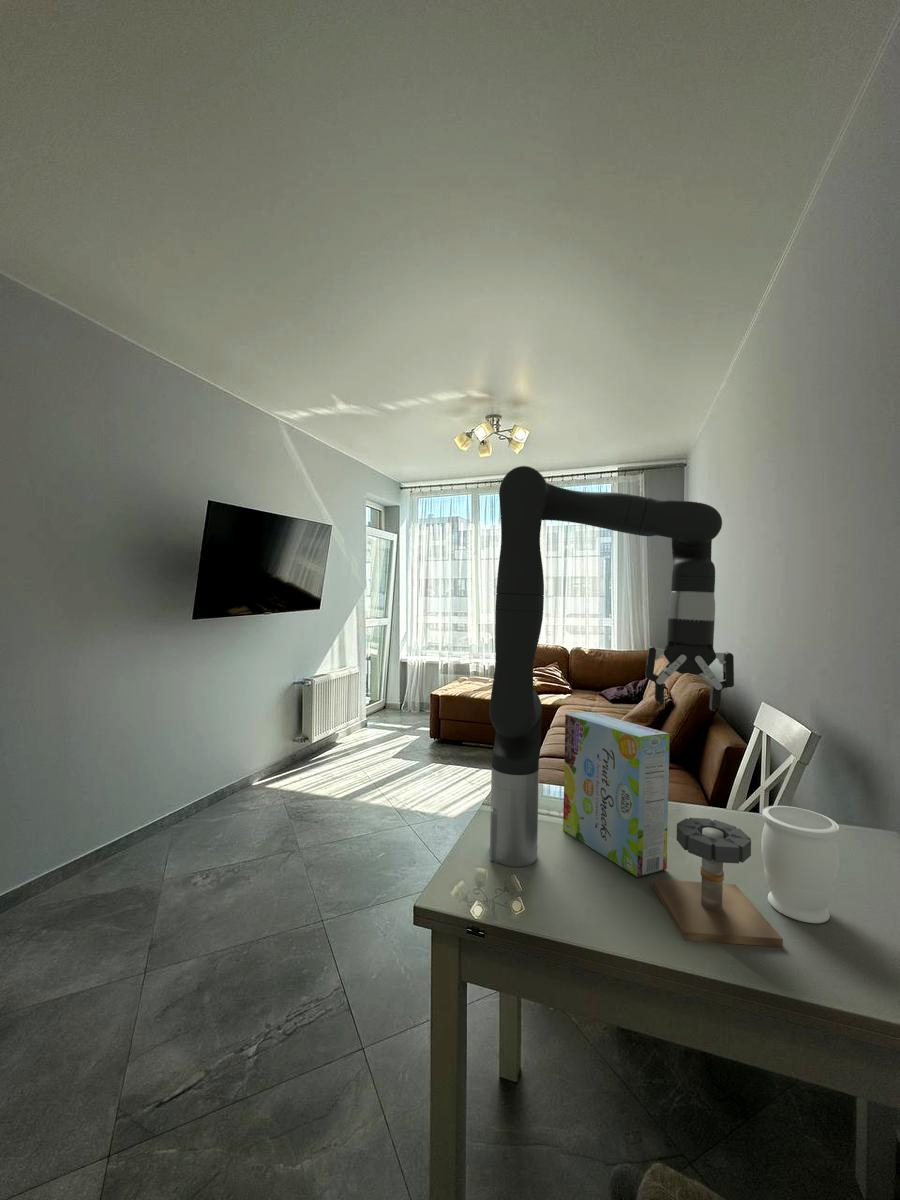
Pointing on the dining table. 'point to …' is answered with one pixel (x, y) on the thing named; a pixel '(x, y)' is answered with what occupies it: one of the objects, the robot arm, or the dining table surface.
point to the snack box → (617, 790)
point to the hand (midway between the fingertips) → (686, 707)
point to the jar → (800, 861)
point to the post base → (715, 923)
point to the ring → (714, 841)
